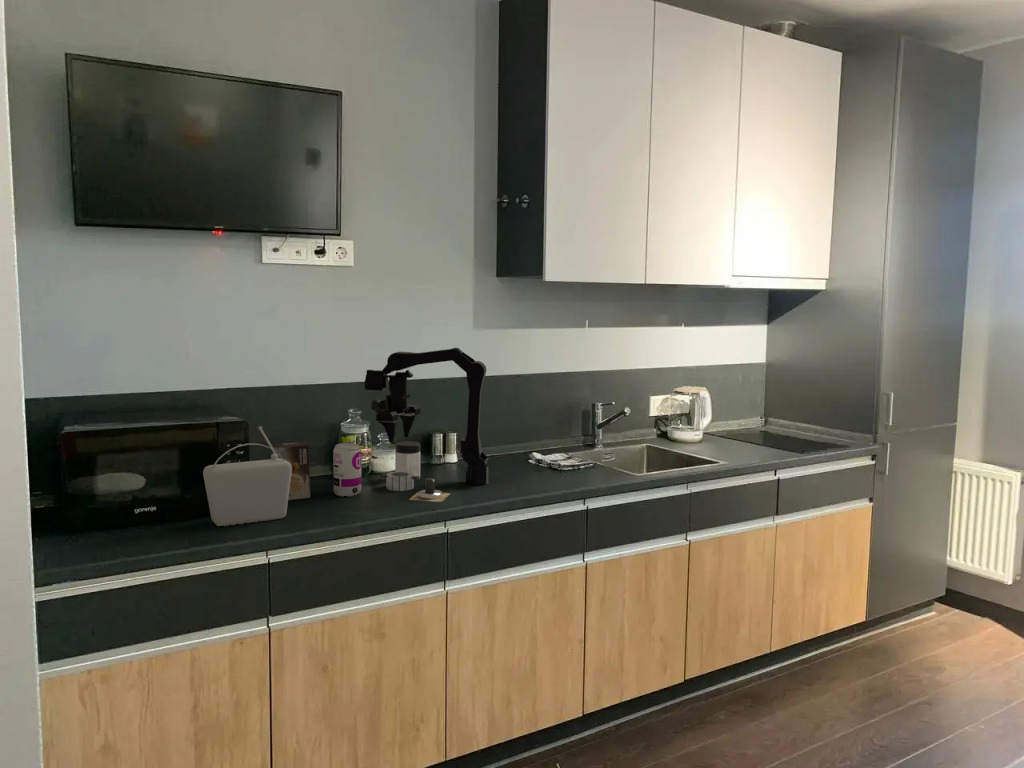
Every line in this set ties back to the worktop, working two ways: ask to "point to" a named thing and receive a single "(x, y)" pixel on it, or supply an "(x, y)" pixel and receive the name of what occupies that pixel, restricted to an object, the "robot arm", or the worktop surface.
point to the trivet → (444, 495)
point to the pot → (400, 480)
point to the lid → (429, 490)
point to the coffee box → (296, 467)
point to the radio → (248, 489)
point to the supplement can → (347, 469)
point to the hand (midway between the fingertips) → (398, 439)
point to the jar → (408, 457)
